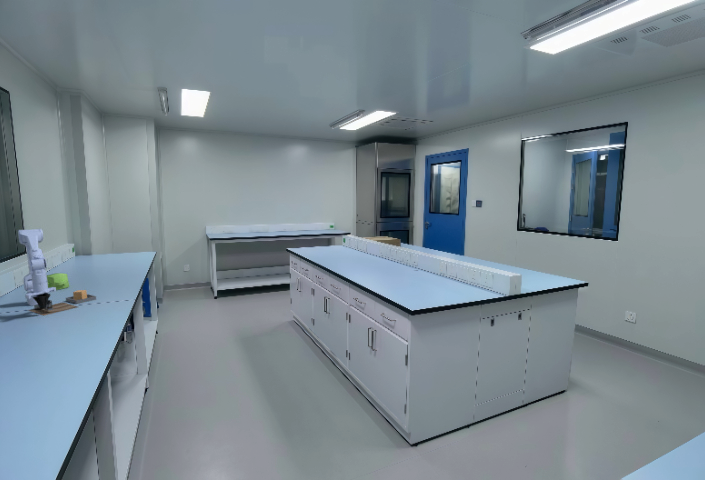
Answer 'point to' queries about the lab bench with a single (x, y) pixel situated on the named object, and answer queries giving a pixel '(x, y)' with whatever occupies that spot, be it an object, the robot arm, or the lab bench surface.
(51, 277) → the green rough block
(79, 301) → the tray
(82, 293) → the stop block
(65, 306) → the crank board
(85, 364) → the lab bench surface
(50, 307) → the crank
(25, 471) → the lab bench surface
